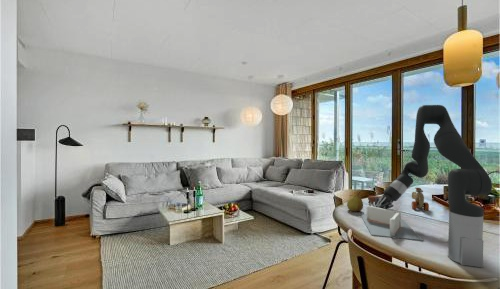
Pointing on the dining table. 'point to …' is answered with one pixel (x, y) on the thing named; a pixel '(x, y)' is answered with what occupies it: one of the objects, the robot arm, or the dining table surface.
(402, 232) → the card
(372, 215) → the fence gate
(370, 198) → the bull figurine
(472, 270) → the dining table surface
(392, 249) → the dining table surface
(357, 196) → the fruit
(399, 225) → the fence fixed
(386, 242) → the dining table surface
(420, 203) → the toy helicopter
